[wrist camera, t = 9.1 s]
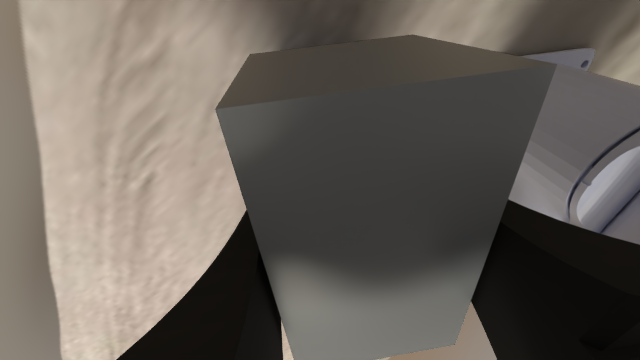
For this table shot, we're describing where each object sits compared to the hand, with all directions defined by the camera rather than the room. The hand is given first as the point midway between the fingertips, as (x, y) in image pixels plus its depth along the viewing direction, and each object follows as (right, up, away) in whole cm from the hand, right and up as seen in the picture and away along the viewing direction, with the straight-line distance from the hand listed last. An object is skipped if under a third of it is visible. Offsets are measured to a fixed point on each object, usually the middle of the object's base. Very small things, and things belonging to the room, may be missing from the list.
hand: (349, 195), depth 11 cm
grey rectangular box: (0, +1, +1) cm, 2 cm away
